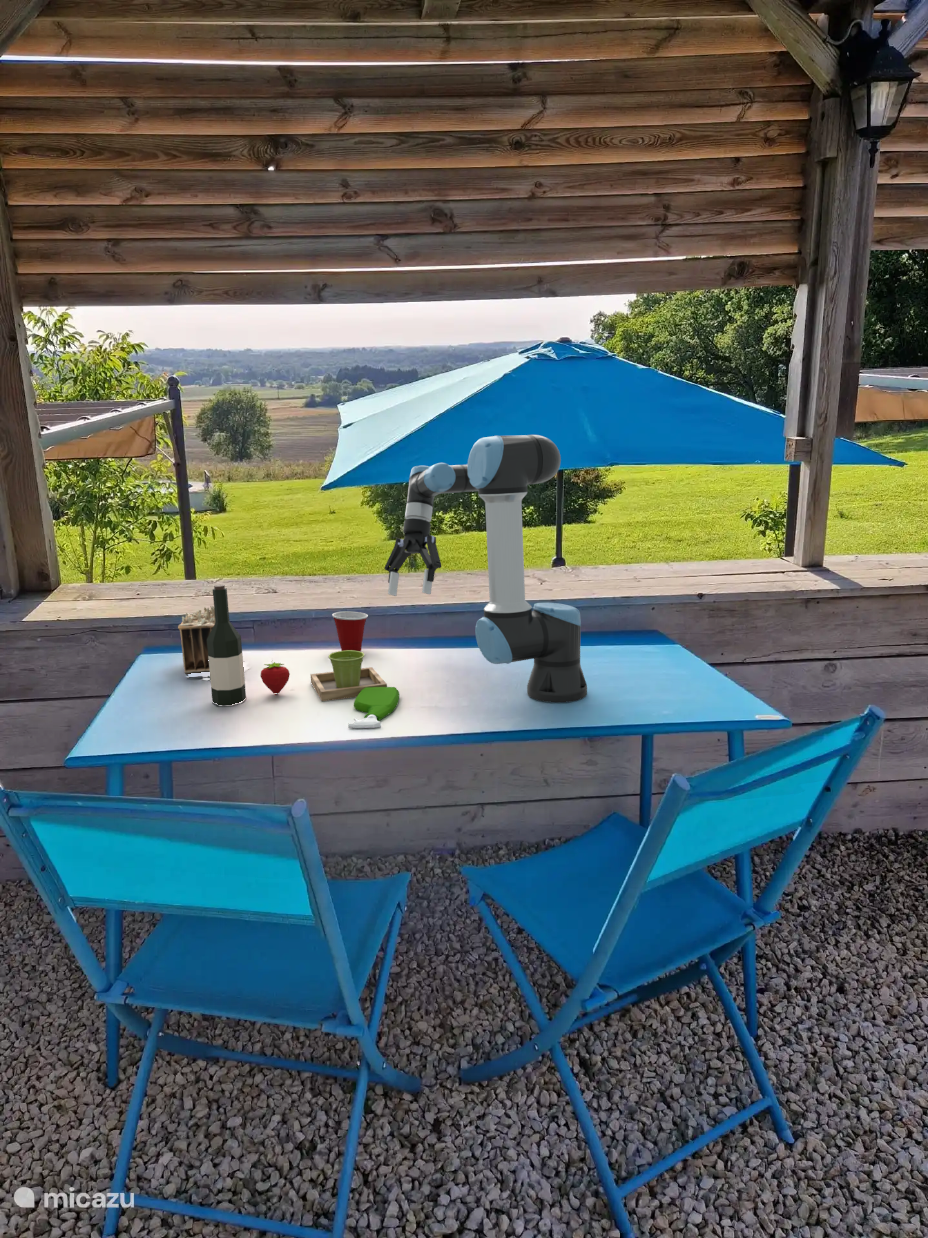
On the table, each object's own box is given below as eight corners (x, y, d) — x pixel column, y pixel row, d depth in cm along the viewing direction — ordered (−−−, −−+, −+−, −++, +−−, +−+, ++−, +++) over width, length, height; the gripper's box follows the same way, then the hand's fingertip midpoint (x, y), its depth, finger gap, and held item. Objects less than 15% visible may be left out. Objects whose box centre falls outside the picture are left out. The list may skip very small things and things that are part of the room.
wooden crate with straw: (148, 669, 257) (142, 607, 253) (226, 652, 274) (221, 593, 269) (188, 690, 240) (182, 622, 235) (269, 670, 256) (265, 607, 252)
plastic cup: (374, 654, 268) (372, 615, 265) (339, 658, 264) (336, 619, 261) (364, 645, 278) (362, 608, 275) (330, 649, 274) (328, 611, 271)
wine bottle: (211, 698, 229) (200, 584, 222) (244, 694, 232) (234, 581, 225) (214, 708, 221) (203, 590, 214) (248, 703, 224) (238, 586, 217)
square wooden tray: (387, 693, 230) (386, 684, 229) (321, 701, 224) (321, 691, 224) (372, 675, 245) (372, 667, 245) (310, 683, 240) (310, 674, 240)
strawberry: (288, 697, 228) (285, 660, 226) (259, 698, 228) (256, 660, 226) (293, 690, 234) (290, 654, 232) (264, 691, 234) (262, 654, 232)
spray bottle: (402, 697, 228) (389, 732, 204) (359, 697, 228) (342, 732, 204) (401, 686, 227) (388, 720, 203) (359, 686, 228) (341, 720, 204)
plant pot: (369, 681, 239) (367, 650, 237) (361, 692, 230) (360, 659, 228) (335, 681, 240) (333, 650, 238) (326, 691, 231) (324, 659, 229)
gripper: (459, 520, 246) (450, 595, 243) (396, 528, 263) (387, 598, 260) (440, 513, 241) (431, 589, 238) (378, 521, 257) (369, 593, 254)
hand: (408, 594), depth 249 cm, fingers open, 13 cm apart
